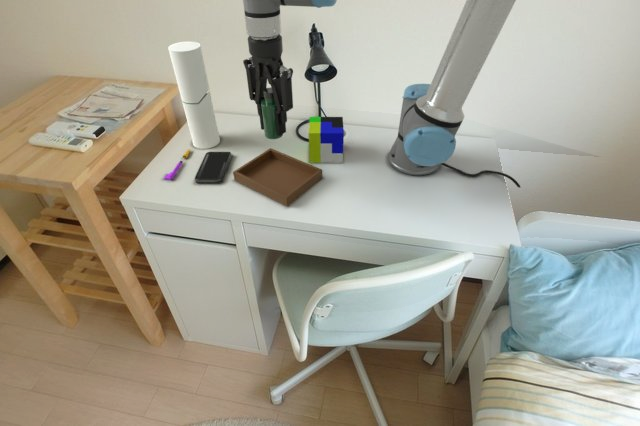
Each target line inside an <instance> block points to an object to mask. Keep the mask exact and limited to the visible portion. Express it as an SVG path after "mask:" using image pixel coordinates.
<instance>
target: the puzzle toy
mask: <svg viewBox="0 0 640 426" xmlns="http://www.w3.org/2000/svg"><path fill="white" fill-rule="evenodd" d="M344 138H345V131H344V118H343V116H309V124H308V155H309V157H308V158H309V164H343V163H344V143H345V142H344V140H345V139H344Z"/></svg>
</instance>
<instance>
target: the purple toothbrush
mask: <svg viewBox="0 0 640 426" xmlns="http://www.w3.org/2000/svg"><path fill="white" fill-rule="evenodd" d="M190 153H191V148H189V149H187V150H186V151H185V153H183V155H182V159H181V160H179V161H178V163H177V164H176V166H175V167H174V169H173V170H172V171H171V172H169V173H167V174H166V175H165V176H164V177H163V179H164V180H169V181H172V180H173V179H174V178H175V176H176V174H177V173H178V171H179V169H180V168H181V166H183V162H184V160H186V159H187V158H188V157H189V155H190Z"/></svg>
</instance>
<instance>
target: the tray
mask: <svg viewBox="0 0 640 426" xmlns="http://www.w3.org/2000/svg"><path fill="white" fill-rule="evenodd" d="M232 174H233V179H234V182H236V183H238V184H240V185H242V186H244V187H246V188H248V189H250V190H252V191H254V192H256V193H258V194H260V195H262V196H264V197H266V198H268V199H270V200H272V201H275V202H276V203H277V204H279V205H280V204H281V205H282V206H284V207H287V208H288V207H289V206H291V205H292V204H293V203H294V202H295V201H296V200H298V199H299V198H300V197H302V196H303V195H304V194H305V193H307V192H308V191H309V190H311V189H312V188H313V187H314V186H316V185H317V183H319V182H320V181H322V180H323V169H322V168H320V167H317V166H315V165H312V164H311V163H308V162H305V161H303V160H301V159H298V158H296V157H293V156H290V155H288V154H286V153H284V152H281V151H280V150H279V151H278V150H276V149H274V148H268V149H267V150H265V151H264V152H261V153H260V154H259V155H257V156H255V157H254V158H253V159H251V160H250V161H248V162H246V163H244V164H243V165H242V166H240V167H239V168H237V169H236V170H234V171H232Z"/></svg>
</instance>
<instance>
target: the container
mask: <svg viewBox="0 0 640 426" xmlns="http://www.w3.org/2000/svg"><path fill="white" fill-rule="evenodd" d="M167 50H168V53H169V57H170V61H171V65H172V69H173V72H174V77H175V80H176V84H177V88H178V92H179V97H180V99H181V103H182V106H183V110H184V115H185V117H186V122H187V125H188V130H189V134H190V137H191V141H192V145H193V146H194V147H195V148H197V149H202V150H205V149H206V150H207V149H211V148H214V147H216V146H218V145H219V144H220V143H221V139H220V134H219V133H220V132H219V129H218V125H217V120H216V115H215V110H214V105H213V100H212V94H211V90H210V85H209V80H208V76H207V71H206V66H205V61H204V57H203V52H202V46H201V44H200V42H197V41H178V42H175V43H172V44H170V45H169V46H168V47H167Z"/></svg>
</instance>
